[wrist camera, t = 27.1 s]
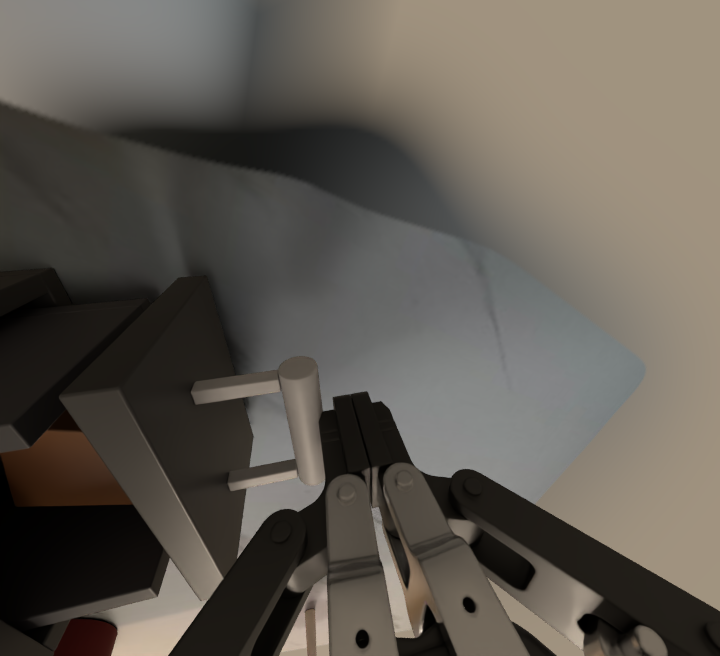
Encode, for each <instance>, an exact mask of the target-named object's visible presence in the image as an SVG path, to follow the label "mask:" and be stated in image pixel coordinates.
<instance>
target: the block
mask: <svg viewBox="0 0 720 656" xmlns="http://www.w3.org/2000/svg"><path fill="white" fill-rule="evenodd" d="M0 457H1V461H2V464H3V467H4V471H5V474H6V478H7V481H8V484H9V488H10V491H11V495H12V498H13V501H14V505H15V506H16V507H30V506H80V505H130V504H132V502H131V501H130V500H129V498H128V497H127V495H126V494H125V492H124V491H123V490H122V488H121V487H120V485H119V484H118V482H117V481H116V479H115V478H114V477H113V475H112V474H111V472H110V471H109V469H108V468H107V467H106V465H105V464H104V462H103V461H102V459H101V458H100V457H99V455H98V454H97V452H96V451H95V449H94V448H93V447H92V445H91V444H90V442H89V441H88V439H87V438H86V437H85V435H84V434H83V432H82V431H81V429H80V428H79V427H78V425H77V424H76V422H75V421H74V419H73V418H72V417H71V415H70V414H69V412H68V411H67V409H66V410H65V411H64V412H63V413H62V414H61V415H60V417H59V418H58V419H57V420H56V421H55V422H54V423H53V424H52V425H51V426H50V427H49V428H48V430H47V431H46V432H45V433H44V434H43V435H42V436H41V437H40V438H39V439H38V440H37V441H36V442H35V444H34V445H33V446H32V447H30V448H28V449H22V450H16V451H10V452H3V453H0Z"/></svg>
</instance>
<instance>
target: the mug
mask: <svg viewBox="0 0 720 656" xmlns="http://www.w3.org/2000/svg"><path fill="white" fill-rule="evenodd" d="M116 637H117V630H116V628H115V627H113V626H112V625H110V624H108V623H105V622H102V621H97V620H90V619H70V621H69V623H68V625H67V627H66V629H65V632H64V634H63V636H62V638H61V640H60V642H59V644H58V646H57V648H56V650H55V651H53V652H54V655H53V656H111V654H112V650H113V647H114V644H115V640H116Z"/></svg>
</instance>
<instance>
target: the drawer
mask: <svg viewBox="0 0 720 656" xmlns="http://www.w3.org/2000/svg"><path fill="white" fill-rule="evenodd" d="M281 389H282V394H283V399H284V404H285V409H286V414H287V419H288V424H289V429H290V434H291V439H292V444H293V449H294V454H295V459H291V460H286V461H281V462H276V463H271V464H266V465H261V466H256V467H251V468H249V466H250V458H251V451H252V443H253V433H252V429H251V426H250V422H249V419H248V416H247V412H246V409H245V405H244V402H243V398H242V397H249V396H255V395H262V394H268V393H275V392H280V391H281ZM66 409H67V411H68V412H69V414H70V415H71V417H72V418H73V419H74V421H75V422H76V424H77V425H78V427H79V428H80V429H81V431H82V432H83V434H84V435H85V437H86V438H87V439H88V441H89V442H90V444H91V445H92V447H93V448H94V449H95V451H96V452H97V454H98V455H99V457H100V458H101V459H102V461H103V462H104V464H105V465H106V467H107V468H108V469H109V471H110V472H111V474H112V475H113V477H114V478H115V479H116V481H117V482H118V484H119V485H120V487H121V488H122V490H123V491H124V492H125V494H126V495H127V497H128V498H129V500H130V501H131V502H132V504H130V505H80V506H30V507H16V506H15V505H14V501H13V498H12V495H11V491H10V488H9V484H8V481H7V478H6V474H5V471H4V467H3V464H2V461H1V457H0V619H1V620H3V621H4V622H6V623H7V624H9V625H11V626H12V627H14V628H16V629H17V630H19V631H20V632H22V631H26V630H30V629H34V628H38V627H42V626H45V625H49V624H53V623H57V622H61V621H65V620H69V619H73V618H77V617H81V616H85V615H89V614H93V613H96V612H100V611H104V610H108V609H112V608H116V607H120V606H124V605H128V604H132V603H136V602H140V601H143V600H147V599H151V598H155V597H157V596H158V594H159V591H160V588H161V584H162V581H163V578H164V575H165V571H166V568H167V565H168V562H169V558H171V560H172V561H173V563H174V564H175V565H176V567H177V568H178V570H179V571H180V573H181V574H182V575H183V577H184V578H185V580H186V581H187V583H188V584H189V585H190V587H191V588H192V590H193V591H194V593H195V594H196V595H197V597H198V598H199V600H200V601H203V600H207V599H209V598H210V597H211V595H212V594H213V592H214V591H215V590H216V588H217V587H218V585H219V584H220V583H221V581H222V580H223V578H224V577H225V576H226V574H227V573H228V571H229V570H230V569H231V567H232V566H233V564H234V563H235V562H236V560H237V555H238V548H239V540H240V533H241V525H242V518H243V510H244V503H245V495H246V488H249V487H254V486H259V485H264V484H269V483H274V482H278V481H283V480H288V479H293V478H297V477H298V474H299V478H300V480H301V481H302V482H303V483H304V484H306V485H311V486H313V485H318V484H320V483H322V482H323V481H324V480H325V471H324V463H323V455H322V447H321V438H320V430H319V419H320V417H321V414H322V412H323V410H322V401H321V393H320V384H319V376H318V367H317V363H316V362H315V360H313V359H312V358H309V357H305V356H299V357H293V358H290V359H288V360H286V361H284V362H283V363H282V364H281V365H280V367H279V369H278V370H273V371H266V372H259V373H252V374H245V375H238V376H236V374H235V371H234V368H233V364H232V361H231V357H230V354H229V350H228V347H227V343H226V340H225V337H224V333H223V330H222V326H221V323H220V319H219V316H218V313H217V309H216V306H215V302H214V299H213V295H212V292H211V289H210V285H209V282H208V278H207V276H205V275H204V276H192V277H180V278H178V279H177V280H176V281H175V282H174V283H173V284H172V285H171V286H170V287H169V288H168V289H167V290H166V291H165V292H164V293H162V294H161V295H160V296H159V297H158V298H157V299H156V300H155V301H154V302H153V303H152V304H150V302H149V299H148V298H144V299H133V300H122V301H112V302H101V303H90V304H80V305H69V306H58V307H48V308H37V309H27V310H16V311H11V312H9V313H7V314H5V315H3V316H1V317H0V453H3V452H10V451H16V450H22V449H28V448H30V447H32V446H33V445H34V444H35V442H36V441H37V440H38V439H39V438H40V437H41V436H42V435H43V434H44V433H45V432H46V431H47V430H48V428H49V427H50V426H51V425H52V424H53V423H54V422H55V421H56V420H57V419H58V418H59V417H60V415H61V414H62V413H63V412H64V411H65V410H66Z"/></svg>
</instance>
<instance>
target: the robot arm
mask: <svg viewBox="0 0 720 656" xmlns="http://www.w3.org/2000/svg"><path fill="white" fill-rule="evenodd" d="M333 406H334V410H329V411H323V412H322V414H321V417H320V419H319V430H320V438H321V447H322V455H323V463H324V471H325V486H324V489H323V491H322V493H321V495H320V496H319V498H318V499H317V500H316V501H315V502H314V503H312V504H311V505H309V506H308V507H306V508H304V509H303V510H301V511H299V512H297V511H295V510H291V509H283V510H279V511H277V512H275V513H273V514H272V515H270V516H269V517H268V518H267V519H266V520H265V521H264V522H263V524H262V525H261V527H260V528H259V529H258V531H257V532H256V534H255V535H254V536H253V538H252V539H251V541H250V542H249V543H248V545H247V546H246V548H245V549H244V550H243V552H242V553H241V555H240V556H239V557H238V559H237V560H236V562H235V563H234V564H233V566H232V567H231V569H230V570H229V571H228V573H227V574H226V576H225V577H224V578H223V580H222V581H221V583H220V584H219V585H218V587H217V588H216V590H215V591H214V592H213V594H212V595H211V597H210V598H209V599H208V601H207V602H206V604H205V605H204V606H203V608H202V609H201V611H200V612H199V613H198V615H197V616H196V618H195V619H194V620H193V622H192V623H191V625H190V626H189V627H188V629H187V630H186V632H185V633H184V634H183V636H182V637H181V639H180V640H179V641H178V643H177V644H176V646H175V647H174V648H173V650H172V651H171V653H170V654H169V655H168V656H279V654H280V652H281V650H282V648H283V646H284V644H285V642H286V640H287V638H288V636H289V634H290V632H291V630H292V628H293V626H294V623H295V621H296V619H297V617H298V615H299V613H300V611H301V609H302V607H303V605H304V603H305V601H306V599H307V597H308V595H309V593H310V591H311V589H312V586H313V584H315V583H316V582H318V581H319V580H320V579H322V578H323V577H324V576H326V575H327V594H328V624H329V652H330V653H329V654H330V656H556V655H555V654H554V653H553V652H552V651H551V650H549V649H548V648H547V647H546V646H545V645H543V644H542V643H541V642H540V641H539V640H538V639H537V638H535V637H534V636H533V635H532V634H530V633H529V632H528V631H526V630H525V629H523V628H522V627H520V626H519V625H517V624H515V623H514V622H512V621H511V620H510V619H509V617H508V615H507V613H506V611H505V609H504V608H503V606H502V604H501V602H500V600H499V599H498V597H497V595H496V593H495V592H494V590H493V588H492V586H491V584H490V582H489V581H488V579H487V578H489V579H490V580H491V581H493V582H494V583H495V584H497V585H498V586H499V587H500V588H502V589H503V590H504V591H506V592H507V593H508V594H510V595H511V596H512V597H514V598H515V599H516V600H517V601H519V602H520V603H521V604H523V605H524V606H525V607H526V608H528V609H529V610H530V611H532V612H533V613H535V614H536V615H537V616H538V617H540V618H541V619H542V620H543V621H545V622H546V623H547V624H549V625H550V626H551V627H553V628H554V629H555V630H556V631H558V632H559V633H561V634H562V635H563V636H564V637H566V638H567V639H568V640H569V641H571V642H572V643H573V644H575V645H576V646H577V647H579V648H580V649H581V650H583V651H584V655H585V656H720V611H718V610H717V609H715V608H713V607H711V606H709V605H708V604H706V603H705V602H703V601H701V600H699V599H698V598H696V597H694V596H692V595H690V594H689V593H687V592H686V591H684V590H682V589H680V588H678V587H677V586H675V585H673V584H672V583H670V582H668V581H666V580H665V579H663V578H661V577H659V576H658V575H656V574H654V573H652V572H651V571H649V570H647V569H646V568H644V567H642V566H640V565H639V564H637V563H635V562H633V561H632V560H630V559H628V558H626V557H625V556H623V555H621V554H619V553H618V552H616V551H614V550H613V549H611V548H609V547H607V546H606V545H604V544H602V543H600V542H599V541H597V540H595V539H594V538H592V537H590V536H588V535H586V534H585V533H583V532H581V531H580V530H578V529H576V528H574V527H573V526H571V525H569V524H567V523H566V522H564V521H562V520H561V519H559V518H557V517H555V516H554V515H552V514H550V513H548V512H547V511H545V510H543V509H541V508H540V507H538V506H536V505H534V504H533V503H531V502H529V501H528V500H526V499H524V498H522V497H521V496H519V495H517V494H515V493H514V492H512V491H510V490H508V489H507V488H505V487H503V486H501V485H500V484H498V483H496V482H495V481H493V480H491V479H489V478H488V477H486V476H484V475H482V474H481V473H479V472H477V471H474V470H470V469H462V470H459V471H457V472H456V473H454V474H453V476H452V478H446V477H437V476H431V475H428V474H425V473H423V472H422V471H420V470H419V469H417V468H416V467H415V466H414V464H413V463H412V461H411V459H410V457H409V455H408V452H407V450H406V448H405V445H404V443H403V440H402V438H401V436H400V433H399V431H398V429H397V426H396V424H395V421H394V420H393V417H392V414H391V412H390V410H389V408H388V407H387V406H385V405H384V404H383V403H382V402H381V401H380V402H374V403H372V402H371V400H370V397H369V394H368V392H367V391H366V392H360V393H354V394H348V395H342V396H336V397H333ZM371 506H372V508H375V507H379V509H380V512H381V516H382V529H383V532H384V535H385V538H386V541H387V544H388V547H389V550H390V553H391V556H392V559H393V562H394V565H395V568H396V571H397V574H398V577H399V580H400V583H401V586H402V589H403V592H404V596H405V601H406V607H407V612H408V616H409V620H410V623H411V626H412V630H413V633H414V636H415V638H397V637H395V631H394V626H393V620H392V614H391V609H390V603H389V597H388V591H387V586H386V580H385V575H384V570H383V566H382V562H381V561H380V557H379V552H378V546H377V540H376V534H375V528H374V522H373V517H372V511H371ZM464 607H465V608H464Z"/></svg>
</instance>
